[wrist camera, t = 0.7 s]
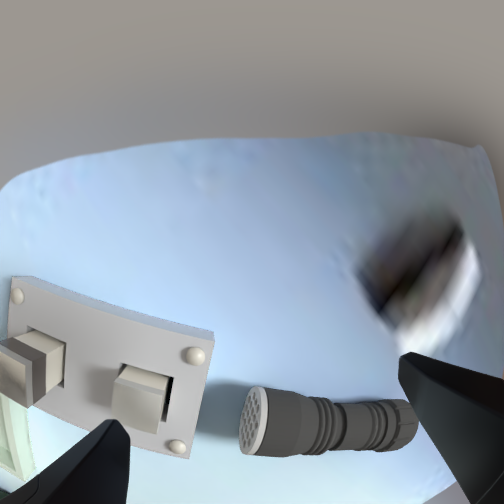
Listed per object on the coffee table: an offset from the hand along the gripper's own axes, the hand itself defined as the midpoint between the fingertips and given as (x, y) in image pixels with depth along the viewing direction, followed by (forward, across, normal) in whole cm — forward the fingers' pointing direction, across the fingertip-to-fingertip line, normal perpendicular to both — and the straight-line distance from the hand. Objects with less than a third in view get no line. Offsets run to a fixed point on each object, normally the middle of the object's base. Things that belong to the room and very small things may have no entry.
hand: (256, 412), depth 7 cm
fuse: (+11, +9, +6) cm, 16 cm away
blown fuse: (+11, +16, +2) cm, 19 cm away
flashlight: (+12, -4, +14) cm, 19 cm away
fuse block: (+11, +12, +4) cm, 17 cm away
